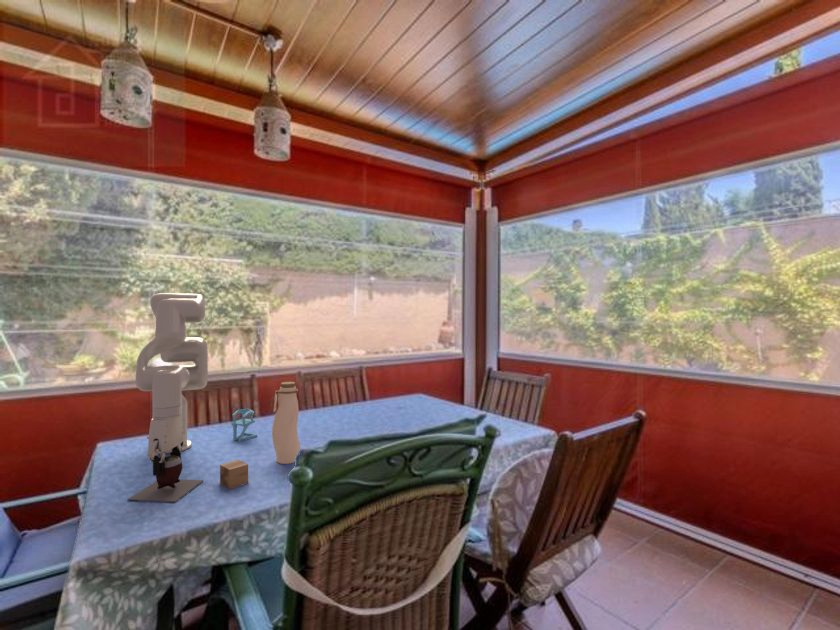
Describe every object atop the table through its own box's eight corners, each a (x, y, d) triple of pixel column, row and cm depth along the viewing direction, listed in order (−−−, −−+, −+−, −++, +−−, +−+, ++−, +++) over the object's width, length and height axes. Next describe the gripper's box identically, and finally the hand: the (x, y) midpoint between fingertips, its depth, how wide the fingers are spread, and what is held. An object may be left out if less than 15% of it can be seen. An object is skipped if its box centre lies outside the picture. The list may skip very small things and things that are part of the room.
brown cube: (219, 483, 133) (219, 464, 133) (238, 477, 138) (238, 459, 137) (229, 489, 129) (229, 469, 129) (248, 483, 134) (248, 464, 133)
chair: (228, 440, 173) (228, 411, 173) (242, 434, 181) (242, 406, 181) (243, 442, 171) (243, 413, 170) (257, 436, 179) (257, 408, 178)
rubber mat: (127, 500, 120) (127, 499, 120) (160, 480, 134) (160, 478, 134) (175, 502, 120) (175, 501, 120) (203, 481, 134) (203, 480, 134)
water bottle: (272, 467, 146) (273, 386, 145) (268, 458, 154) (269, 381, 153) (302, 462, 151) (303, 384, 150) (297, 454, 159) (298, 380, 158)
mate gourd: (186, 483, 128) (186, 434, 128) (159, 493, 121) (159, 441, 121) (173, 477, 132) (173, 430, 132) (146, 486, 125) (146, 436, 125)
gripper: (173, 403, 135) (173, 458, 136) (134, 419, 118) (134, 482, 118) (196, 404, 135) (196, 459, 135) (160, 420, 117) (160, 483, 118)
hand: (167, 469), depth 127 cm, fingers closed on mate gourd, 7 cm apart
